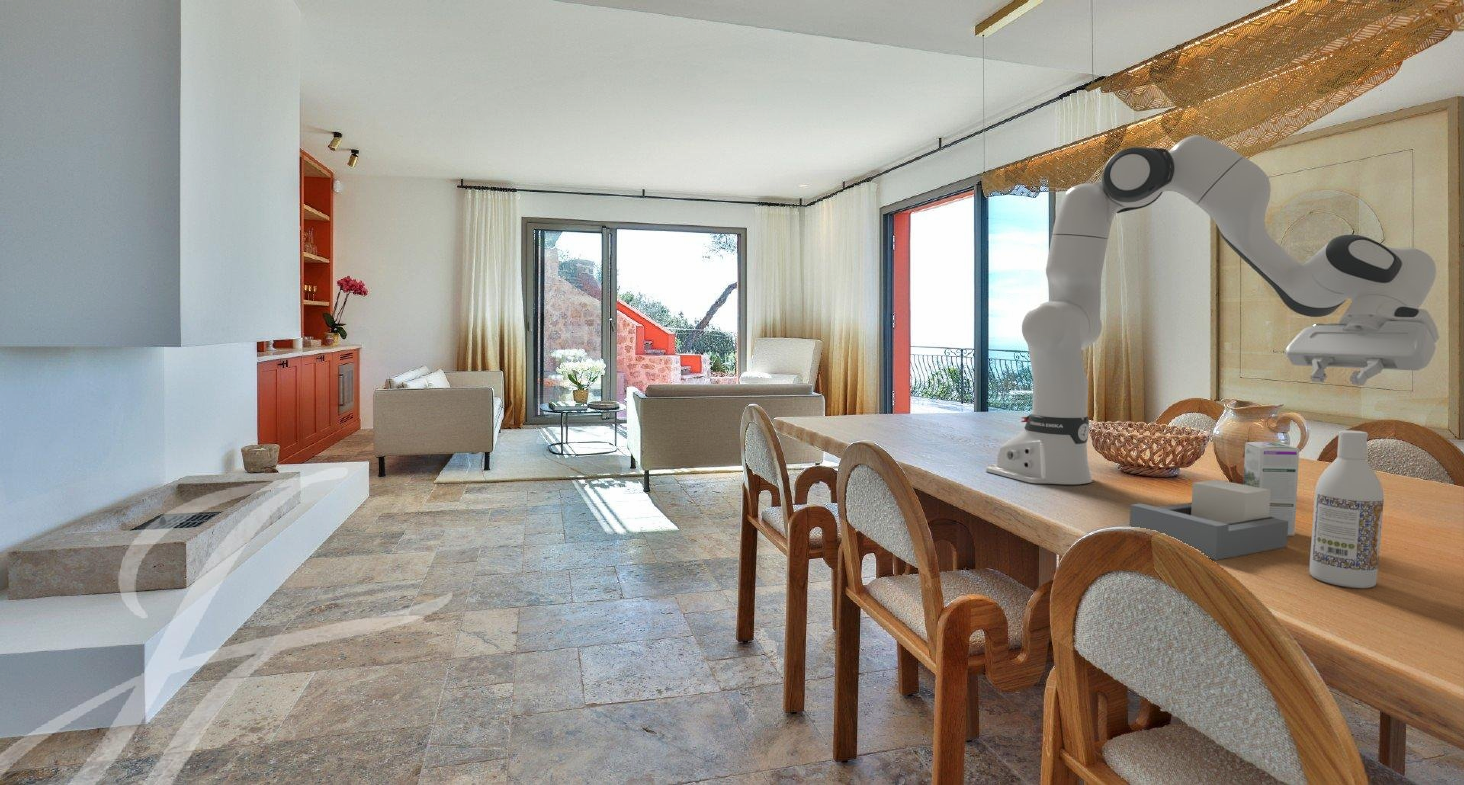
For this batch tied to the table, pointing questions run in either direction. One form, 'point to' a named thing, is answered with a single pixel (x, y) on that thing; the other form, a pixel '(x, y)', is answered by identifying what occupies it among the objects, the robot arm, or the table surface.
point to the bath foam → (1347, 517)
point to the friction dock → (1211, 530)
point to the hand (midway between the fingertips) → (1335, 381)
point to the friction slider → (1229, 501)
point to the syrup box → (1274, 477)
